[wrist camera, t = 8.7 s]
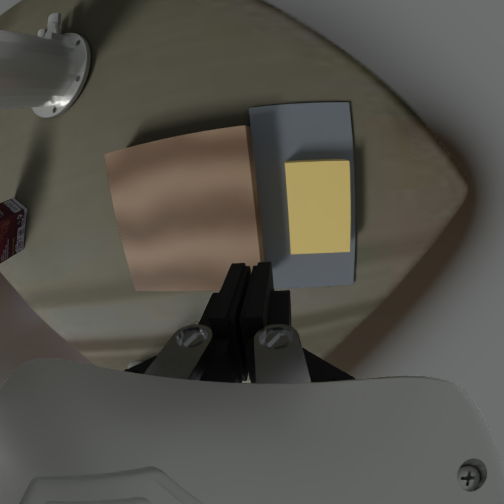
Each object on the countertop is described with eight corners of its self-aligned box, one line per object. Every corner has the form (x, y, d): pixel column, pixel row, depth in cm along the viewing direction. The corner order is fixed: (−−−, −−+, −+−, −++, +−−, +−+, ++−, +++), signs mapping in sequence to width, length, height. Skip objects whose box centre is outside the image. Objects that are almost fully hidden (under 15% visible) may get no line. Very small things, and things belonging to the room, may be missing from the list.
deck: (123, 150, 29) (104, 154, 25) (251, 127, 26) (245, 125, 23) (150, 275, 35) (135, 290, 31) (266, 271, 32) (263, 289, 29)
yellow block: (349, 160, 24) (344, 158, 26) (284, 163, 25) (285, 161, 27) (349, 251, 27) (345, 243, 29) (290, 254, 28) (290, 245, 30)
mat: (249, 108, 26) (248, 108, 25) (348, 102, 24) (349, 102, 24) (268, 287, 33) (267, 288, 33) (352, 282, 31) (353, 284, 31)
